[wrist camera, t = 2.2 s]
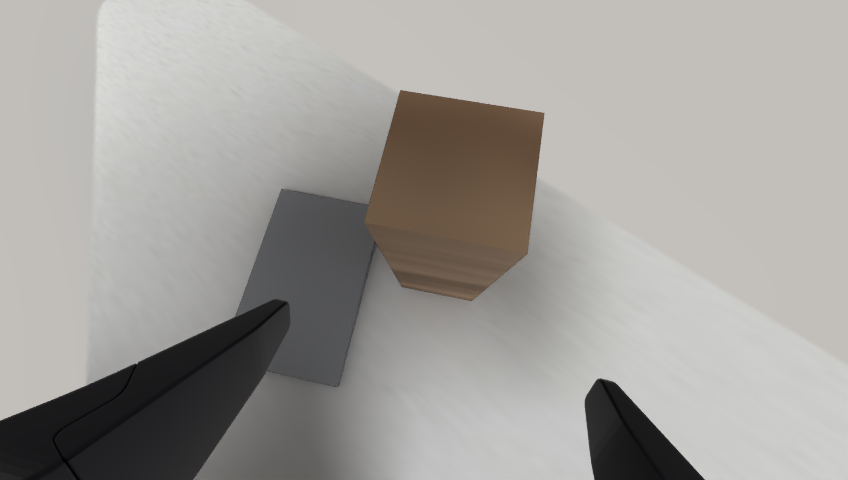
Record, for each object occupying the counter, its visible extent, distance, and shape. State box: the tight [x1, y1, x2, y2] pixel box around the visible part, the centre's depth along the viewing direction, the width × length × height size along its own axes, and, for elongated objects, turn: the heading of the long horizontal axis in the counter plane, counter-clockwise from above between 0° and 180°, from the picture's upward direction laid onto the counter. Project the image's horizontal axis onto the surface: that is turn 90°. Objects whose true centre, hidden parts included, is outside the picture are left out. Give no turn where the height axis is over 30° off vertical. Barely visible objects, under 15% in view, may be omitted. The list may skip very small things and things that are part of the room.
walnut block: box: [364, 90, 544, 301], centre depth 15 cm, size 4×4×12 cm
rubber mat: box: [235, 189, 376, 387], centre depth 20 cm, size 11×7×1 cm, turn 168°
